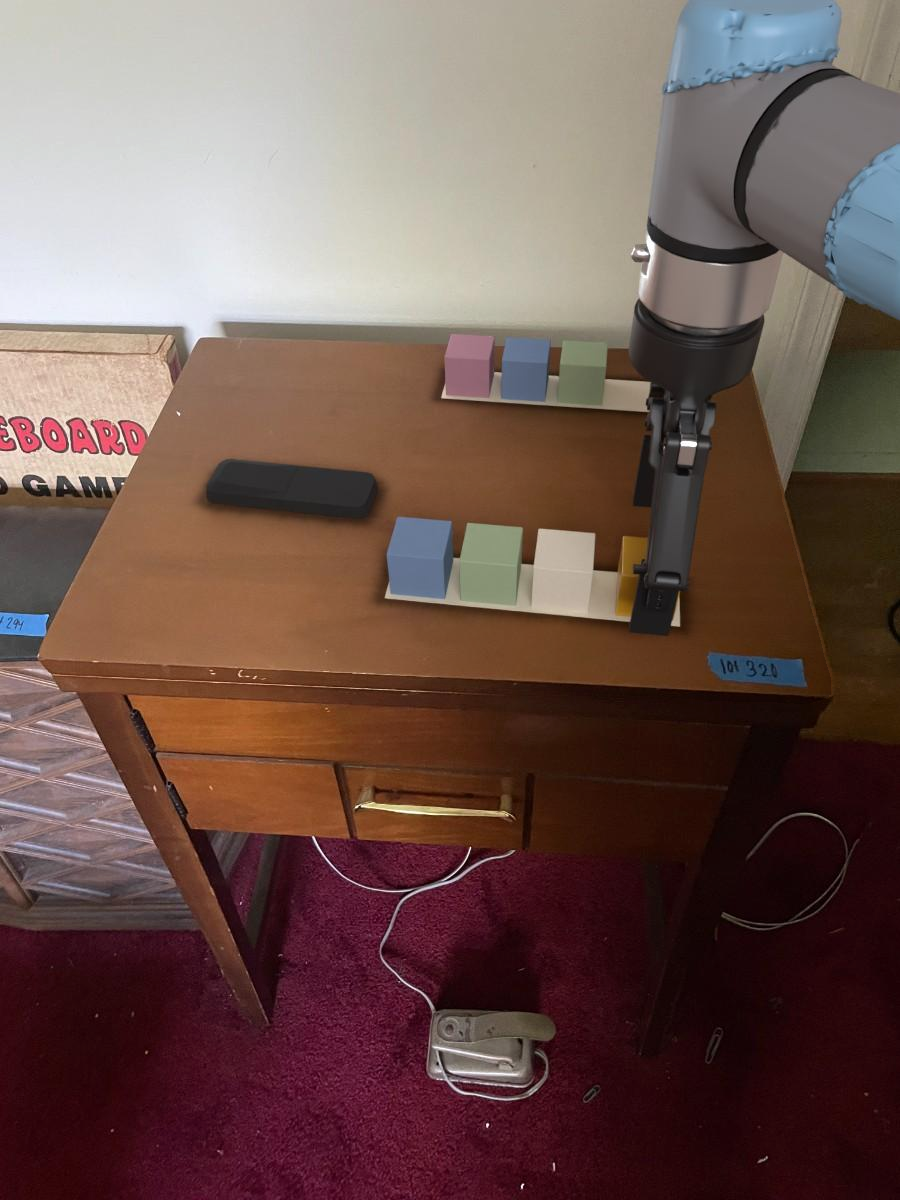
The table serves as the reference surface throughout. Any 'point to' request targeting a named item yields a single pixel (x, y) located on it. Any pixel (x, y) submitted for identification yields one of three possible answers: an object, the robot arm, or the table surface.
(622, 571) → the block
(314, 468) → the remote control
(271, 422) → the table surface
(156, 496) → the table surface
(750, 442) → the table surface
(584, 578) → the white strip with cubes
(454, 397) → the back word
